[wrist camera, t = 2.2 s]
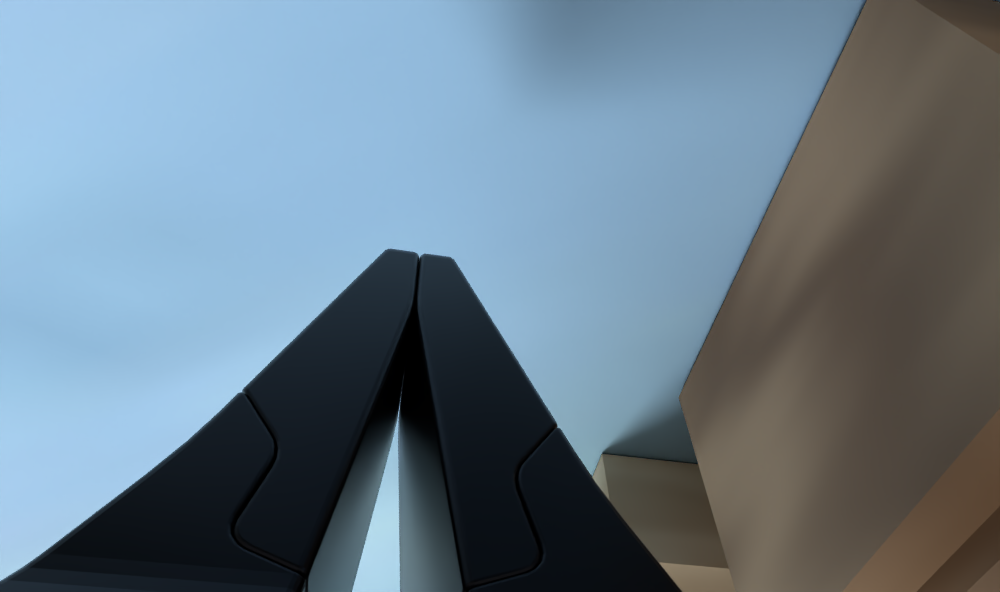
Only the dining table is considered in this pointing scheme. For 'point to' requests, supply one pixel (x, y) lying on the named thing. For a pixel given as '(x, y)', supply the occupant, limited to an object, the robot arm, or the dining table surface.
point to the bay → (669, 517)
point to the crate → (869, 328)
